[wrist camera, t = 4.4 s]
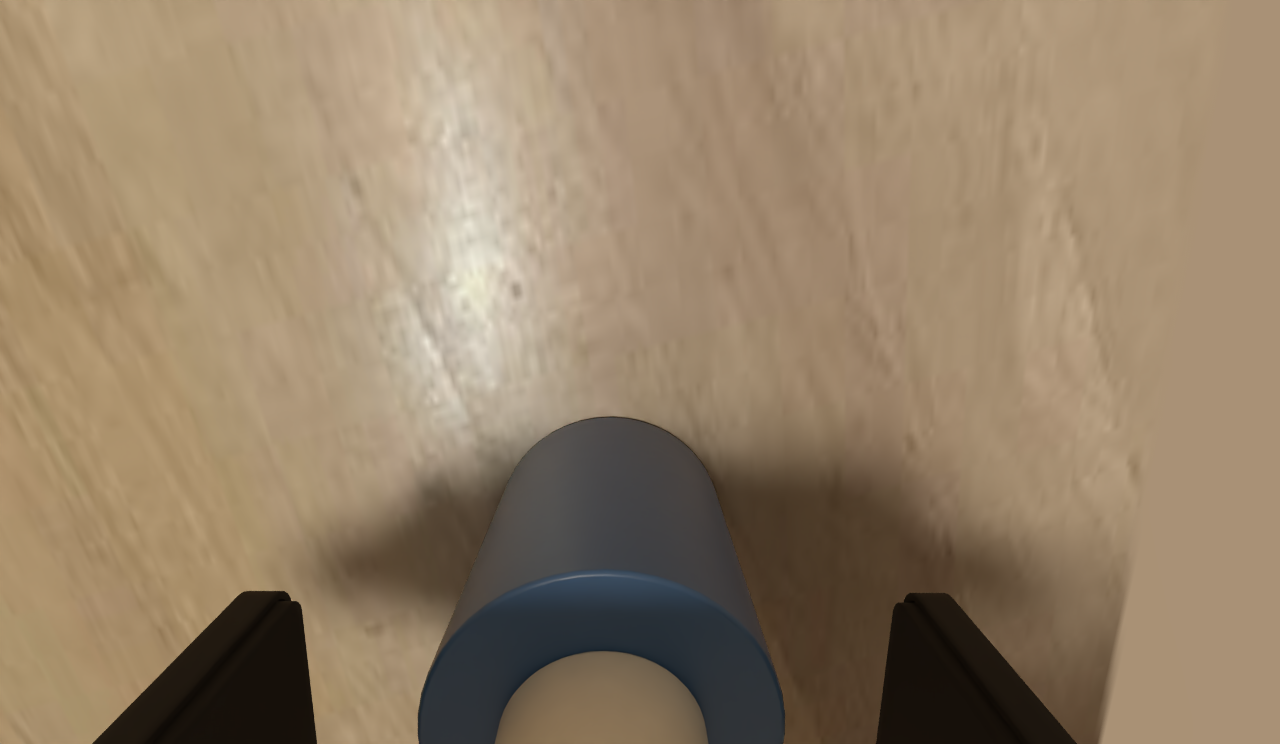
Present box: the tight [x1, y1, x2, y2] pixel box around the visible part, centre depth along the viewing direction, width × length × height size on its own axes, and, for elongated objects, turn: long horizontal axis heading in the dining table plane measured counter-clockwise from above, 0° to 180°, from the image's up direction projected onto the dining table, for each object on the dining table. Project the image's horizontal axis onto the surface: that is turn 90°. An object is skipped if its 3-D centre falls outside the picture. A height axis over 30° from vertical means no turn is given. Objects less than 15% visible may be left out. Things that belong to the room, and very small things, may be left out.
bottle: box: [418, 417, 785, 744], centre depth 11 cm, size 5×5×10 cm
